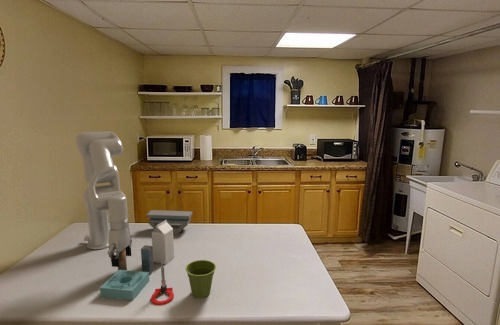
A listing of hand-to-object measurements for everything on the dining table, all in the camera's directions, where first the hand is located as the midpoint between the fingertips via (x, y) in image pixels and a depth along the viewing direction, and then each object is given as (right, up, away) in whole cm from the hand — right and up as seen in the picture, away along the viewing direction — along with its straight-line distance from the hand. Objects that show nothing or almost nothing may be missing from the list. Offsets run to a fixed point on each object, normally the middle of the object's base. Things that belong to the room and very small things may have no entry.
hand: (122, 260), depth 137 cm
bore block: (+6, -8, -11) cm, 15 cm away
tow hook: (+22, -9, -16) cm, 29 cm away
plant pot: (+37, -9, -13) cm, 40 cm away
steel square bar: (+11, -6, +2) cm, 12 cm away
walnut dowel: (0, -6, +1) cm, 6 cm away
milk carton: (+15, -4, +13) cm, 20 cm away
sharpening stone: (+9, +3, +47) cm, 48 cm away
